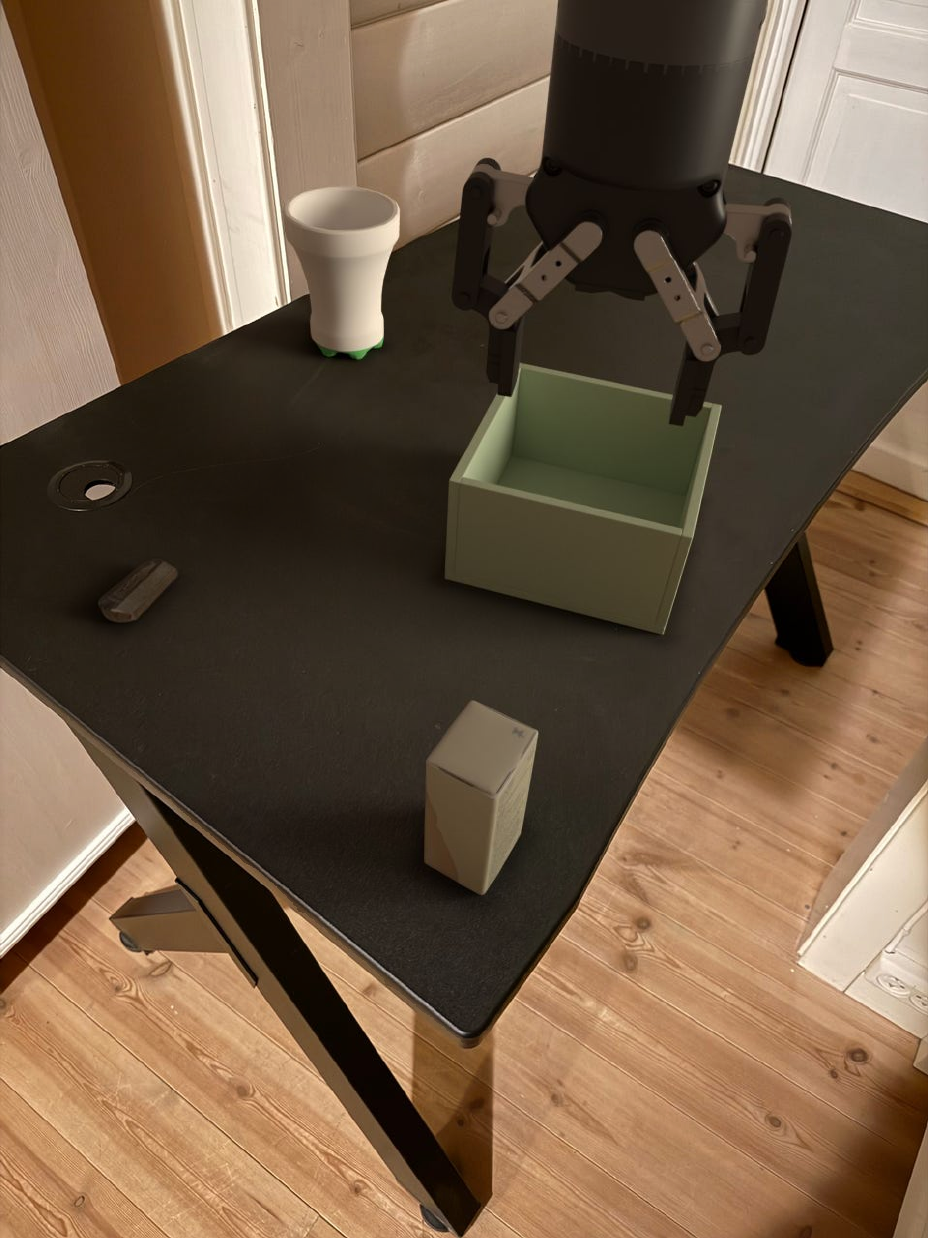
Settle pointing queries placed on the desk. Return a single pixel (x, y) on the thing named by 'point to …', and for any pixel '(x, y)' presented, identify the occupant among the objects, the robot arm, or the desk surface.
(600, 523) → the bin
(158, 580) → the block
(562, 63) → the robot arm
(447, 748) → the box
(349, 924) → the desk surface
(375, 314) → the cup
